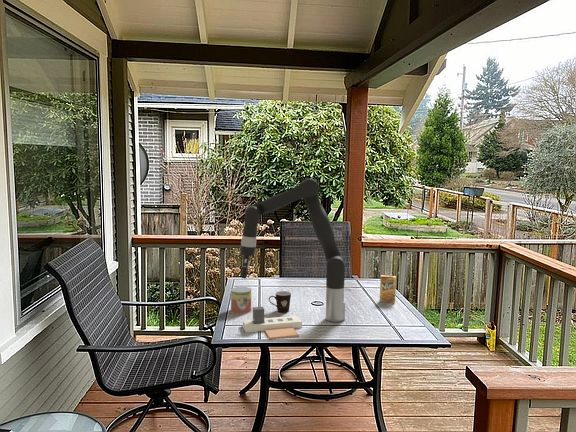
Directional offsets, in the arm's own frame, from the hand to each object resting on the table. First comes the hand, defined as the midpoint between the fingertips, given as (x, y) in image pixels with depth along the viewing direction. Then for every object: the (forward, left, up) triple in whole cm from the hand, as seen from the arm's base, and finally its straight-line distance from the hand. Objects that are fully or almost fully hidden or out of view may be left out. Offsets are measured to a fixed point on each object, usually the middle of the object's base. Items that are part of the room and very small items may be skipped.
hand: (244, 276), depth 229 cm
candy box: (-88, -12, -23) cm, 92 cm away
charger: (-5, +13, -23) cm, 27 cm away
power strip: (-12, +13, -23) cm, 29 cm away
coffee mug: (-22, -10, -23) cm, 34 cm away
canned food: (-1, -15, -23) cm, 28 cm away
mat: (-14, +23, -23) cm, 35 cm away
